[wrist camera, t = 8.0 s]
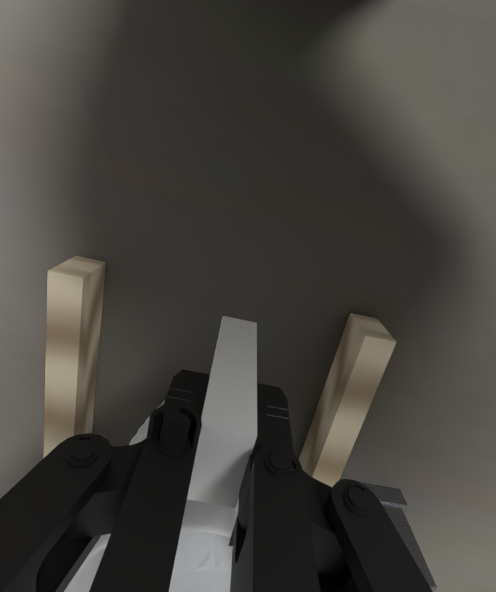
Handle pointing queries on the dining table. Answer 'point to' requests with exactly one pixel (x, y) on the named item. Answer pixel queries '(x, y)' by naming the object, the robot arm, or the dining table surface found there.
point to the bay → (84, 361)
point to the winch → (402, 525)
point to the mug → (183, 547)
